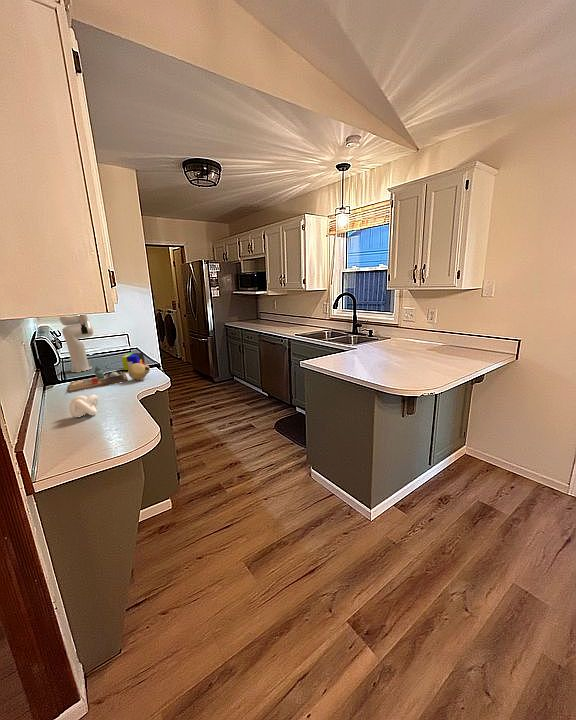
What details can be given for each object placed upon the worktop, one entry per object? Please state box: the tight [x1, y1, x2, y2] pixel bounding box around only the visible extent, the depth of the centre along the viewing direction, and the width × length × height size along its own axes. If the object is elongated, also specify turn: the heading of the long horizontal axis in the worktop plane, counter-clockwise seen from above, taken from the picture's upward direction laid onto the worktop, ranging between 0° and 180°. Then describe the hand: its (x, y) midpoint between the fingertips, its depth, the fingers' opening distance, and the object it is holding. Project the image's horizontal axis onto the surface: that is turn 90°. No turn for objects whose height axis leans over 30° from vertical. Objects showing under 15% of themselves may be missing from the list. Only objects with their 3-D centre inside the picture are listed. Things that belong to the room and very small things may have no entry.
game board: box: [68, 370, 129, 394], centre depth 194 cm, size 18×30×5 cm, turn 121°
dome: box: [109, 371, 119, 377], centre depth 194 cm, size 6×6×4 cm
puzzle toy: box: [121, 352, 146, 371], centre depth 219 cm, size 10×10×10 cm
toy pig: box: [127, 363, 151, 381], centre depth 195 cm, size 10×12×11 cm
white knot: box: [69, 394, 99, 418], centre depth 148 cm, size 11×12×9 cm
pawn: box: [94, 366, 105, 379], centre depth 197 cm, size 4×4×8 cm
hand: (85, 333), depth 196 cm, fingers closed
